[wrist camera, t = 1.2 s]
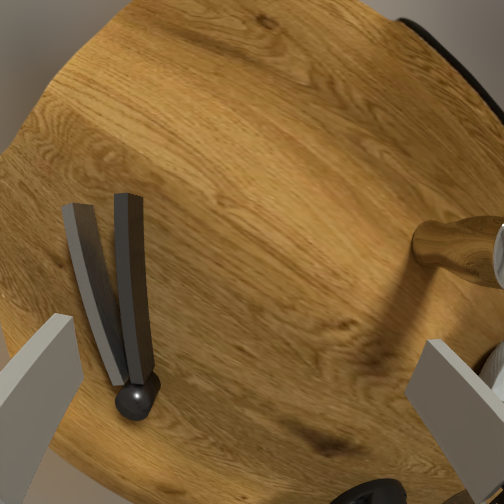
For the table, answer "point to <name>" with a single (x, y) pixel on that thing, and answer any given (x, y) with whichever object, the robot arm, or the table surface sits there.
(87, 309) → the bar
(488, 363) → the cereal bowl
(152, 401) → the blade
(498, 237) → the beer glass
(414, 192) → the table surface
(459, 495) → the brown lidded jar
